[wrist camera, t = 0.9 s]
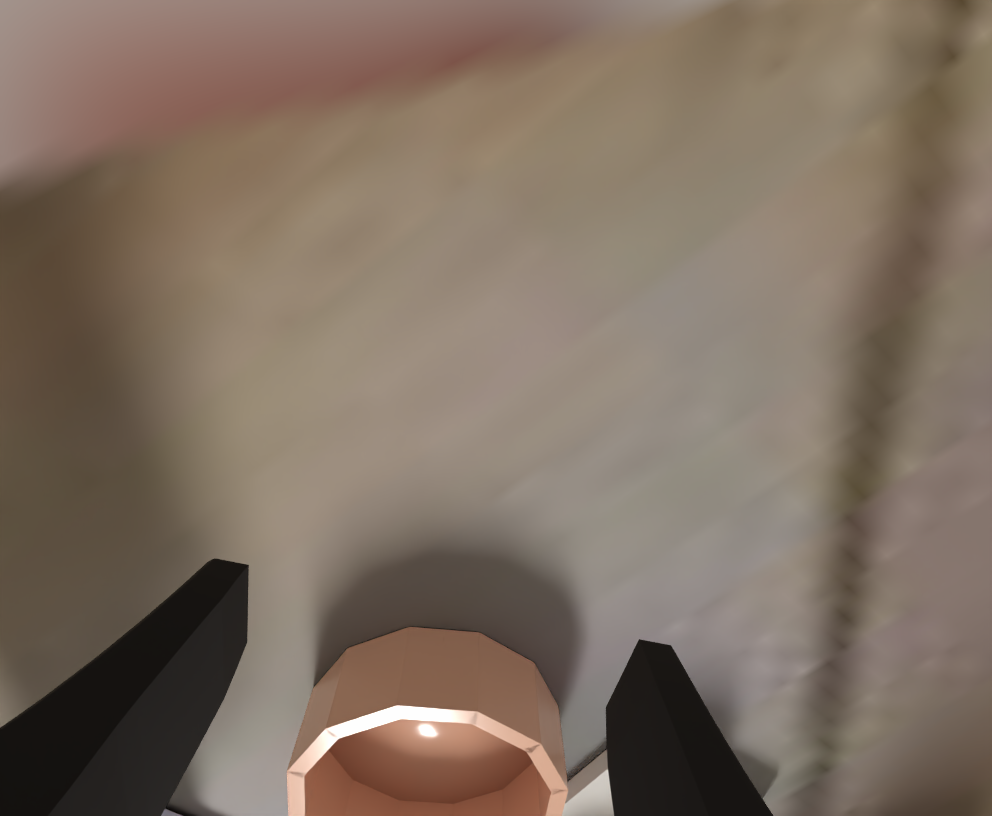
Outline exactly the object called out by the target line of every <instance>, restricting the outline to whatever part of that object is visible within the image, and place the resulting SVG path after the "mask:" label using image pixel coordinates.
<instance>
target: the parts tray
mask: <svg viewBox="0 0 992 816" xmlns="http://www.w3.org/2000/svg"><path fill="white" fill-rule="evenodd" d="M763 801H764V800H763ZM562 816H614V811H613V804H612V797H611V789H610V782H609V774H608V764H607V749H606V750H605V751H604V752H603V753H602V754H600V755H599V756H598V757H597V758H596V759H595V760H593V761H592V762H591V763H590V764H589V765H587V766H586V767H585V768H584V769H583V770H581V771H580V772H579V773H578V774H577V775H575V776H574V777H573V778H572V779H571V780H569V781H568V794H567V798H566V801H565V805H564V809H563V813H562Z"/></svg>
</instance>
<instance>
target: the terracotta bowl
mask: <svg viewBox="0 0 992 816" xmlns="http://www.w3.org/2000/svg"><path fill="white" fill-rule="evenodd" d="M287 788H288V814H289V816H562V813H563V809H564V805H565V801H566V798H567V794H568V782H567V774H566V766H565V757H564V749H563V741H562V732H561V724H560V716H559V707H558V705H557V703H556V701H555V700H554V698H553V696H552V694H551V692H550V690H549V689H548V687H547V685H546V683H545V681H544V680H543V678H542V676H541V674H540V672H539V671H538V669H537V667H536V665H535V663H534V662H532V661H530V660H528V659H527V658H525V657H523V656H521V655H519V654H517V653H516V652H514V651H512V650H510V649H508V648H507V647H505V646H503V645H501V644H499V643H498V642H496V641H494V640H492V639H490V638H488V637H487V636H485V635H483V634H481V633H480V632H468V631H455V630H443V629H430V628H418V627H407V628H405V629H402V630H399V631H396V632H393V633H390V634H387V635H384V636H381V637H378V638H375V639H373V640H370V641H367V642H364V643H361V644H358V645H355V646H352V647H349V648H347V649H346V651H345V652H344V653H343V654H342V655H341V656H340V658H339V659H338V660H337V661H336V662H335V663H334V665H333V666H332V667H331V668H330V669H329V670H328V672H327V673H326V674H325V675H324V676H323V677H322V679H321V680H320V681H319V682H318V683H317V684H316V686H315V687H314V688H313V690H312V693H311V697H310V700H309V703H308V706H307V709H306V712H305V715H304V719H303V722H302V725H301V728H300V731H299V734H298V738H297V741H296V744H295V747H294V750H293V753H292V757H291V760H290V763H289V766H288V769H287Z"/></svg>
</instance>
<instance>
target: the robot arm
mask: <svg viewBox="0 0 992 816" xmlns="http://www.w3.org/2000/svg"><path fill="white" fill-rule="evenodd" d="M248 568H249V565H246V564H241V563H235V562H230V561H225V560H220V559H212V560H211V561H209V562H207V563H206V564H205V565H204V566H203V567H202V568H201V569H200V570H199V571H197V572H196V573H195V574H194V575H193V576H192V577H191V578H190V579H189V580H188V581H186V582H185V583H184V584H183V585H182V586H181V587H180V588H179V589H177V590H176V591H175V592H174V593H173V594H172V595H171V596H170V597H168V598H167V599H166V600H165V601H164V602H163V603H161V604H160V605H159V606H158V607H157V608H156V609H154V610H153V611H152V612H151V613H150V614H149V615H148V616H146V617H145V618H144V619H143V620H142V621H140V622H139V623H138V624H137V625H136V626H134V627H133V628H132V629H131V630H129V631H128V632H127V633H126V634H125V635H123V636H122V637H121V638H120V639H118V640H117V641H116V642H115V643H114V644H112V645H111V646H110V647H109V648H107V649H106V650H105V651H104V652H102V653H101V654H100V655H99V656H97V657H96V658H95V659H94V660H92V661H91V662H90V663H88V664H87V665H86V666H84V667H83V668H82V669H80V670H79V671H78V672H76V673H75V674H74V675H72V676H71V677H70V678H69V679H67V680H66V681H65V682H63V683H62V684H61V685H59V686H58V687H57V688H55V689H54V690H53V691H51V692H50V693H49V694H47V695H46V696H45V697H43V698H42V699H41V700H39V701H38V702H36V703H35V704H34V705H32V706H31V707H29V708H28V709H27V710H25V711H24V712H22V713H21V714H19V715H18V716H17V717H15V718H14V719H12V720H11V721H9V722H8V723H7V724H5V725H4V726H2V727H1V728H0V816H182V815H180V814H177V813H175V812H172V811H170V810H167V809H165V808H166V806H167V804H168V802H169V800H170V798H171V797H172V795H173V793H174V791H175V789H176V787H177V786H178V784H179V782H180V780H181V778H182V776H183V774H184V773H185V771H186V769H187V767H188V765H189V763H190V761H191V760H192V758H193V756H194V754H195V752H196V750H197V749H198V747H199V745H200V743H201V741H202V739H203V737H204V735H205V734H206V732H207V730H208V728H209V726H210V724H211V722H212V721H213V719H214V717H215V715H216V713H217V711H218V709H219V707H220V705H221V703H222V702H223V700H224V697H225V695H226V693H227V690H228V688H229V686H230V683H231V681H232V678H233V676H234V674H235V671H236V669H237V666H238V664H239V661H240V659H241V656H242V654H243V651H244V649H245V646H246V644H247V621H248ZM606 739H607V764H608V774H609V782H610V789H611V797H612V804H613V811H614V816H773V814H772V813H771V811H770V810H769V808H768V807H767V805H766V804H765V802H764V801H763V799H762V798H761V796H760V795H759V793H758V792H757V790H756V788H755V787H754V785H753V784H752V782H751V781H750V779H749V778H748V776H747V774H746V773H745V771H744V769H743V768H742V766H741V765H740V763H739V761H738V760H737V758H736V756H735V755H734V753H733V751H732V750H731V748H730V747H729V745H728V743H727V742H726V740H725V738H724V737H723V735H722V733H721V732H720V730H719V728H718V727H717V725H716V723H715V721H714V720H713V718H712V716H711V715H710V713H709V711H708V709H707V708H706V706H705V704H704V702H703V701H702V699H701V697H700V695H699V694H698V692H697V690H696V688H695V687H694V685H693V683H692V681H691V680H690V678H689V676H688V674H687V672H686V671H685V669H684V667H683V665H682V664H681V662H680V660H679V658H678V657H677V655H676V653H675V651H674V650H673V648H672V647H671V645H666V644H661V643H655V642H650V641H645V640H640V639H639V641H638V643H637V645H636V647H635V649H634V651H633V653H632V655H631V657H630V659H629V661H628V663H627V665H626V667H625V669H624V672H623V674H622V676H621V678H620V680H619V682H618V684H617V686H616V688H615V690H614V692H613V694H612V696H611V698H610V700H609V702H608V705H607V707H606Z"/></svg>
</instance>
